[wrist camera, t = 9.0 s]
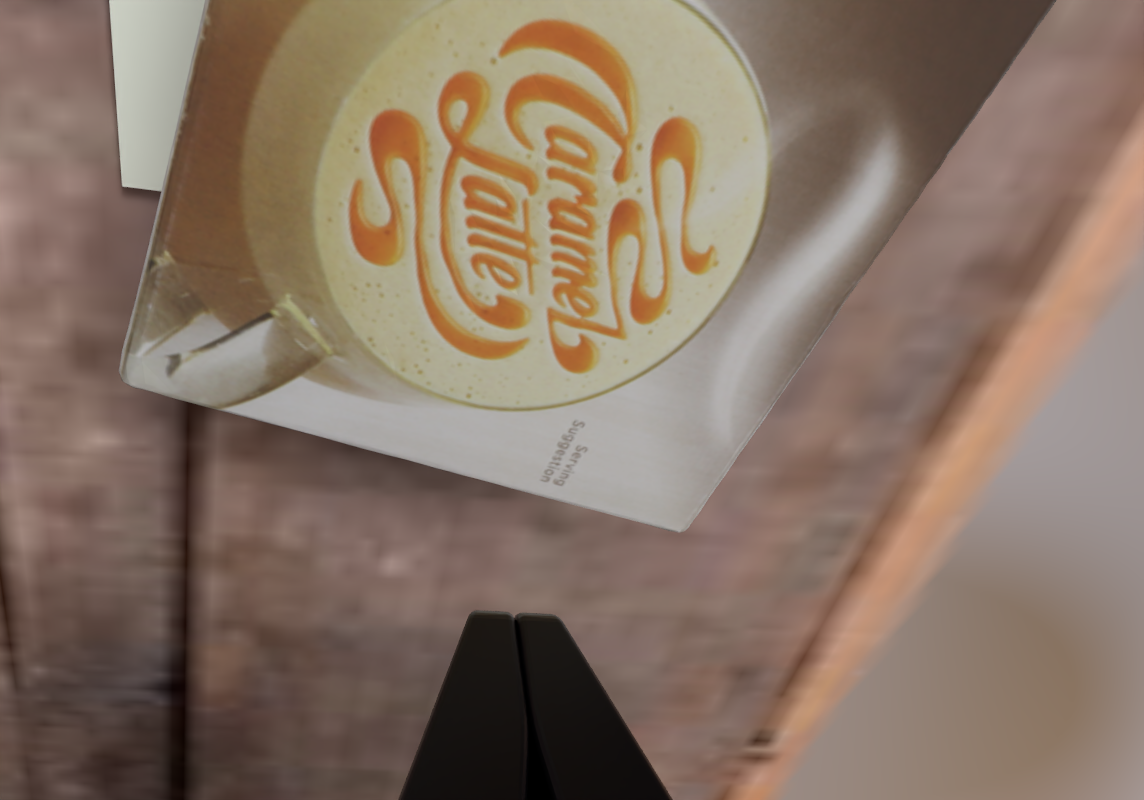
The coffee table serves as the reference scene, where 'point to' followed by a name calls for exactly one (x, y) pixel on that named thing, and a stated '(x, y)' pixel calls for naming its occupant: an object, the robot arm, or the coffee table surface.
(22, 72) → the coffee table surface
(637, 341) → the coffee box
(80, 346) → the coffee table surface
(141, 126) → the pad
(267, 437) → the coffee table surface
